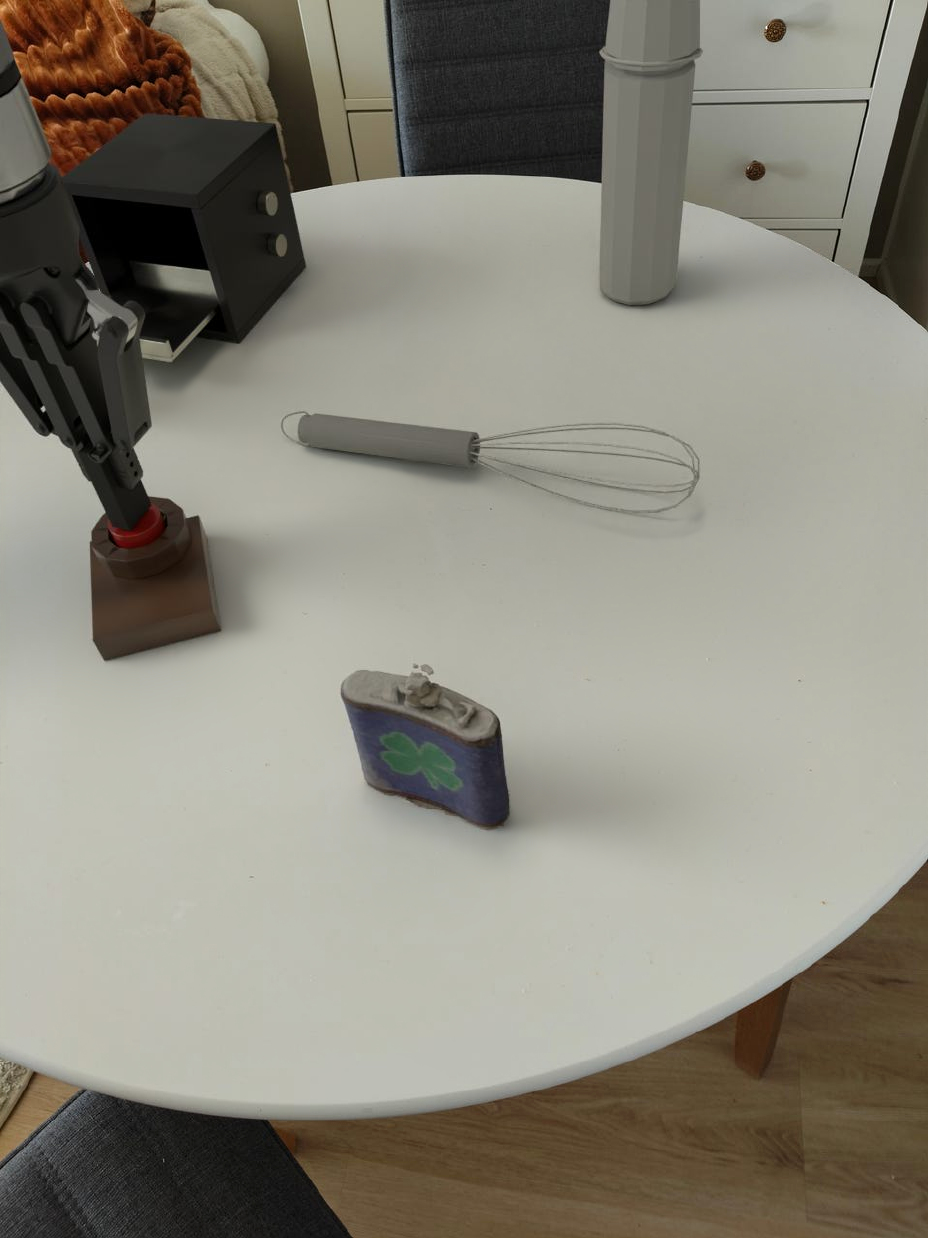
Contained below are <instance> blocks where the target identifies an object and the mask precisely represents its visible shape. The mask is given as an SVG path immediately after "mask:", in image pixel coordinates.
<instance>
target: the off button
mask: <svg viewBox="0 0 928 1238" xmlns="http://www.w3.org/2000/svg"><path fill="white" fill-rule="evenodd" d="M151 504H152V503H151ZM108 528H109V530H110V532H111V534H112V536H113V539H114V541H115V543H116V545H117V547H119V548H127V549H134V548H138V547H142V546H146V545H149V544H150V543H152V542H153V541H155V540H157V539H158V538H160V537H161V536H162V534H163V532H164V531H165V529H166V526H165V523H164V521H163V518H162V516H161V514H160V511H159V509H158V508H157V507H156V506H155V505H154V504H152V505H151V507H150V508H149V509H148V510H147V512H146V513H145V514H144V515H143V516H142V518H141V519H140V520H139V521H138V523H137V524H136V525H135V526H134V527H133V529H132V530H131V531H129V530H124V529H120V528H115V527H112V525H111V523H110V520H109V522H108Z"/></svg>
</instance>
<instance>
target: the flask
mask: <svg viewBox="0 0 928 1238" xmlns="http://www.w3.org/2000/svg"><path fill="white" fill-rule="evenodd" d="M412 668H413V669H419V665H418V664H413V665H412ZM420 670H421V672H411V673H410V674H409V676H407V675H402V674H394V673H389V672H384V671H379V670H368V669H359V670H355V671H354V672H353V673H351V674H349V675H348V676H347V677H346V678H345V679H343V680H342V682H341V684H340V697H341V700H342V702H343V705H344V707H345V710H346V714H347V717H348V720H349V724H350V728H351V730H352V734H353V739H354V742H355V745H356V749H357V753H358V757H359V760H360V761H359V762H360V765H361V770H362V773H363V774H362V775H363V777H364V780H365V782H366V783H367V785H369V786H370V787H372V788H373V789H374V790H375V791H377V792H380V793H382V794H383V795H387V796H390V797H391V795H395V796H398V797H400V798H401V799H402V798H403V799H406V801H409V802H410V803H411V804H414V805H417V808H421V807H422V808H424V809H440V810H442V811H444V814H445V816H448V815H449V816H451V815H452V816H456V817H459V818H460V819H461V820H463V823H469V824H472V825H473V826H476V827H478V828H480V829H482V830H492V829H496V828H499V827H505V822H506V821H507V820H508V818H509V816H510V809H511V807H510V791H509V785H508V781H507V774H506V766H505V765H506V764H505V757H504V756H505V755H504V743H503V734H502V727H501V721H500V719H499V716H498V715H497V714H496V713H495V712H494V711H493V710H492V709H490V708H488V707H486V706H485V705H482V704H481V703H478V702H476V701H475V700H473V699H471V698H469V697H468V696H466V695H463V694H462V693H459V692H458V691H455V690H453V689H450V688H447V687H445V686H442V685H440V684H439V683H436V682H431V681H430V679H429V677H428V676H431V675H434V673H435V672H434V669H433V668H432V667H431V666H430V665H429V664H425V663H424V664H421V665H420ZM422 672H424V673H426V674H427V675H428V676H427V675H425V674H424V675H423V673H422Z"/></svg>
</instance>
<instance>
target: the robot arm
mask: <svg viewBox="0 0 928 1238" xmlns="http://www.w3.org/2000/svg"><path fill="white" fill-rule="evenodd" d="M15 58H16V57H15V55H14V52H13V48H12V47H11V44H10V41H9V38H8V36H7V32H6V30H5V27H4V25H3V22H2V19H1V18H0V384H1V385H2V387H3V388H4V390H5V391H6V392H7V393H8V395H9V396H10V398H11V399H12V401H13V402H14V403H15V405H16V406H17V408H18V409H19V410H20V412H21V413H22V414H23V416H24V417H25V418H26V420H27V421H28V423H29V424H30V426H31V427H32V429H33V430H34V431H35V432H36V433H37V434H38V435H40V436H42V437H45V438H46V437H49V436H50V435H55V436H56V437H58V439H59V441H60V443H61V444H62V445H64V446H65V447H66V448H68V449H70V450H71V453H72V455H73V456H74V458H75V460H76V463H77V464H78V467H79V468H80V471H81V473H82V476H83V477H84V478H85V479H86V480H87V481H88V482H90V483H91V484H92V487H93V488H94V490H95V493H96V495H97V497H98V499H99V501H100V503H101V506H102V508H103V510H104V512H105V513H106V514H107V516H108V518H109V520H110V523H111V525H112V527H115V528H120V529H124V530H129V531H131V530H132V529H133V527H134V526H135V525H136V524H137V523H138V521H139V520H140V519H141V518H142V516H143V515H144V514H145V513H146V512H147V510H148V509H149V508H150V507H151V505H152V504H151V502H150V500H149V497H148V496H149V494H148V493H147V490H146V487H145V485H144V483H143V481H142V479H143V477H144V470H143V467H142V465H141V462H140V460H139V458H138V455H137V452H136V451H135V448H134V447H135V446H136V445H137V444H138V443H139V442H140V441H141V440H142V438H144V436H145V435H147V433H148V432H149V430H150V429H151V428H152V425H153V423H152V416H151V410H150V402H149V396H148V395H149V393H148V387H147V382H146V375H145V374H146V373H145V368H144V360H143V359H144V358H142V352H141V345H140V338H139V335H140V331H141V328H142V325H143V321H144V318H145V312H144V309H143V308H142V306H141V305H139V304H138V303H137V302H135V301H128V302H127V303H126V304H125V305H124V306H123V307H122V306H120V305H119V304H117V303H116V302H114V301H113V300H111V299H110V298H108V297H107V296H106V295H104V294H103V293H101V292H100V289H99V285H98V282H97V280H96V278H95V276H94V274H93V271H92V270H90V268H89V267H88V266H87V264H86V263H85V262H84V260H83V258H82V257H81V256H82V255H81V254H80V238H79V233H80V227H79V222H78V219H77V217H76V214H75V212H74V209H73V206H72V204H71V201H70V199H69V196H68V193H67V191H66V188H65V186H64V183H63V180H62V176H61V173H60V169H58V168H57V166H55V165H54V164H53V163H51V162H50V160H51V157H52V153H53V151H52V148H51V146H50V143H49V141H48V138H47V135H46V133H45V131H44V129H43V125H42V124H41V120H40V118H39V116H38V112H37V111H36V108H35V106H34V103H33V102H32V101H33V100H32V98H31V96H30V94H29V91H28V89H27V85H26V84H25V81H24V78H23V76H22V74H21V71H20V68H19V67H18V64H17V61H16V59H15ZM97 341H99V342H98V346H97ZM42 408H44V410H43V409H42Z"/></svg>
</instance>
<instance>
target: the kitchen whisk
mask: <svg viewBox="0 0 928 1238" xmlns="http://www.w3.org/2000/svg"><path fill="white" fill-rule="evenodd" d="M298 414H303V415H302V416H301V417H300V418H299V421H298V423H297V437H298V440H299V441H297V440H295V439H294V438H292V437H290V436H289V435H288V434H287V433H286V432H285V430H284V421H285V420H286V419H287V418H288V417H290V416H293V415H298ZM579 426H594V427H579ZM595 426H596V427H595ZM609 426H610V427H609ZM612 426H613V427H612ZM615 426H616V427H615ZM617 426H619V427H617ZM620 426H623V427H620ZM563 427H564V428H563ZM565 427H572V428H565ZM280 428H281V431H282V433H283V435H284V436H285V437H286V438H287V439H289V440H290V441H291V442H293V443H296V444H298V445H300V446H303V447H312V448H317V449H326V450H334V451H341V452H350V453H356V454H365V455H373V456H380V457H388V458H394V459H401V460H411V461H417V462H425V463H433V464H440V465H449V466H455V467H456V466H457V467H463V468H464V467H465V468H475V466H476V464H477V463H478V464H481V465H483V466H485V467H486V468H489V469H490V470H493V471H495V472H497V473H500V474H501V475H504V476H506V477H508V478H511V479H513V480H516V481H518V482H521V483H523V484H524V485H528V486H530V487H533V488H535V489H538V490H541V491H543V492H546V493H548V494H551V495H554V496H558V497H561V498H564V499H567V500H570V501H573V502H577V503H580V504H584V505H588V506H593V507H596V508H599V509H604V510H608V511H616V512H621V513H629V514H660V513H663V512H666V511H669V510H673V509H677V508H678V507H679V506H680V505H681V504H682V503H683V502H685V501H686V500H688V499H689V498H691V497H692V495H693V493H694V491H695V489H696V487H697V485H698V483H699V481H700V478H701V465H700V463H701V462H700V461H701V460H700V457H699V456H698V455H697V454H696V452H695V451H694V449H693V448H692V446H691V444H689V443H687V442H685V441H683V440H681V439H680V438H677V437H676V436H674V435H671V434H669V433H668V432H667V431H663V430H659V429H656V428H653V427H649V426H645V425H641V424H640V425H638V424H629V423H620V422H583V423H569V424H567V423H566V424H558V425H549V426H542V427H535V428H529V429H522V430H516V431H512V432H511V431H510V432H506V433H500V434H496V435H491V436H486V437H481V438H480V435H479V433H478V432H476V431H467V430H460V429H451V428H445V427H444V428H443V427H435V426H427V425H426V426H425V425H418V424H408V423H400V422H391V421H383V420H382V421H381V420H376V419H375V420H374V419H367V418H366V419H365V418H358V417H351V416H350V417H349V416H341V415H333V414H324V413H316V412H315V413H313V414H309V413H308V412H307V411H305V410H300V411H296V412H290V413H288V414H287V415H285V416H283V418H282V420H281V422H280ZM556 428H561V429H556ZM545 429H549V430H545ZM538 430H540V431H538ZM583 430H584V431H585V430H626V431H637V432H646V433H652V434H653V433H654V434H657V435H660V436H664V437H668V438H671V439H672V440H674V441H676V442H678V443H679V444H681V445H682V447H683V449H685V451H686V452H687V454H688V455H689V456H690V458H691V461H692V462H691V463H692V466H691V465H690V464H688V463H687V462H685V461H683V460H681V459H680V458H678V457H676V456H672V455H670V454H666V453H663V452H660V451H656V450H652V449H646V448H641V447H637V446H636V447H635V446H628V445H619V444H609V443H597V442H596V443H595V442H581V441H580V442H576V441H575V442H573V441H516V442H513V441H512V442H489V443H488V441H495V440H500V439H508V438H515V437H521V436H530V435H536V434H544V433H545V434H546V433H556V432H569V431H583ZM483 442H484V443H483ZM485 442H487V443H485ZM503 445H504V446H505V445H585V446H598V447H599V446H600V447H611V448H619V449H629V450H636V451H641V452H646V453H651V454H657V455H660V456H663V457H667V458H670V459H672V460H668V459H662V458H656V457H650V456H643V455H632V454H623V453H613V452H603V451H602V452H601V451H586V450H575V449H574V450H573V449H572V450H571V449H554V448H536V447H535V448H534V447H533V448H532V447H506V446H505V447H504V446H503ZM688 448H689V449H688ZM482 449H486V450H487V449H488V450H489V449H490V450H517V451H518V450H519V451H520V450H521V451H542V452H543V451H545V452H562V453H564V452H565V453H578V454H579V453H580V454H593V455H607V456H608V455H609V456H617V457H629V458H636V459H644V460H645V459H647V460H653V461H659V462H663V463H664V462H665V463H669V464H675V465H678V466H681V467H685V468H688V469H690V471H691V473H692V474H693V479H692V480H690V481H688V482H683V483H676V484H646V483H632V482H625V481H616V480H609V479H601V478H595V477H589V476H584V475H577V474H572V473H567V472H562V471H557V470H552V469H546V468H543V467H537V466H533V465H526V464H524V463H519V462H515V461H510V460H505V459H502V458H498V457H493V456H489V455H486V454H481V453H480V452H481V450H482ZM691 452H692V453H691ZM692 454H693V455H694V456H693V455H692ZM479 457H480V458H484V459H487V460H491V461H495V462H498V463H502V464H505V465H510V466H513V467H518V468H522V469H525V470H529V471H533V472H536V473H541V474H546V475H550V476H553V477H558V478H562V479H566V480H571V481H576V482H581V483H584V484H585V483H586V484H591V485H596V486H602V487H607V488H613V489H618V490H624V491H633V492H639V493H654V494H674V493H675V494H677V493H683V492H685V491H688V492H687V493H688V494H687V495H686V496H685V497H683V499H681V500H680V501H679V502H677V503H676V504H673V505H671V506H667V507H663V508H659V509H653V510H652V509H649V510H648V509H647V510H646V509H645V510H642V509H641V510H640V509H639V510H637V509H636V510H635V509H634V510H631V509H623V508H618V507H617V508H616V507H609V506H604V505H600V504H595V503H592V502H587V501H583V500H579V499H577V498H573V497H570V496H567V495H564V494H561V493H558V492H555V491H552V490H550V489H548V488H545V487H542V486H539V485H537V484H533V483H532V482H529V481H526V480H524V479H521V478H519V477H517V476H515V475H512V474H509V473H508V472H505V471H504V470H501V469H499V468H496V467H494V466H492V465H489V464H488V463H486V462H483V461H481V460H479ZM695 458H696V460H697V469H696V467H695ZM583 479H584V480H583ZM588 480H591V481H588ZM593 481H597V482H593ZM598 482H603V483H598ZM604 483H609V484H604ZM610 483H611V484H619V485H626V486H637V487H649V488H674V487H681V486H686V485H690V486H688V487H686V488H684V489H680V490H667V491H666V490H665V491H664V490H663V491H662V490H647V489H646V490H645V489H637V488H629V487H622V486H615V485H610Z"/></svg>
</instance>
